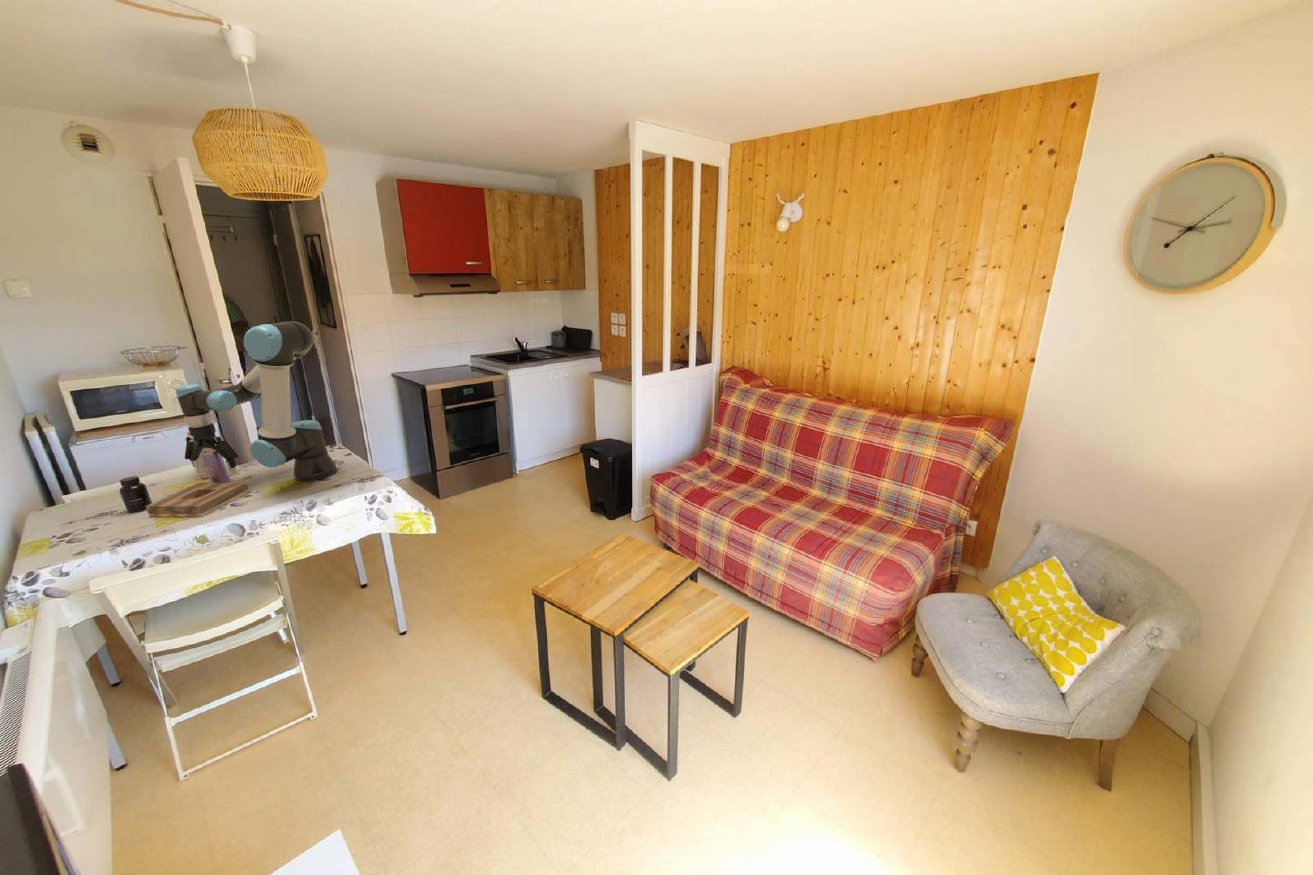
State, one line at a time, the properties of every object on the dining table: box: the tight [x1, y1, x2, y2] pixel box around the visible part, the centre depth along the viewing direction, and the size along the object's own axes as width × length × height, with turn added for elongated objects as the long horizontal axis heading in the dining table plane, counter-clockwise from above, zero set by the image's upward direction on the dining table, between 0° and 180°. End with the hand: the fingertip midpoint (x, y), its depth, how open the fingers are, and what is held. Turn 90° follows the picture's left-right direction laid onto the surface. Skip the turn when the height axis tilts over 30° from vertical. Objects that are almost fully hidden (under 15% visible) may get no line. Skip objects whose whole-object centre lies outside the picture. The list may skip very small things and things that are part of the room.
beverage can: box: [201, 449, 232, 483], centre depth 200 cm, size 6×6×15 cm
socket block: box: [145, 481, 250, 518], centre depth 186 cm, size 20×20×4 cm
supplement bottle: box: [119, 475, 153, 513], centre depth 182 cm, size 7×7×12 cm
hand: (217, 475), depth 201 cm, fingers open, 13 cm apart
